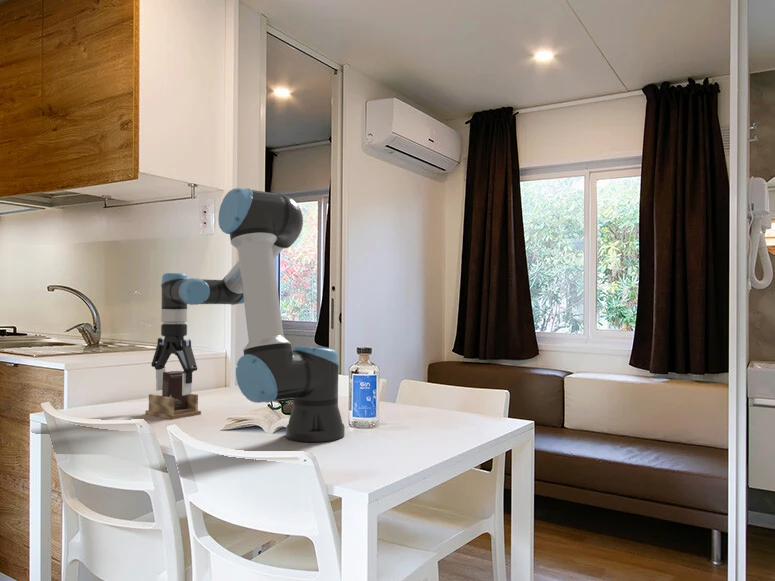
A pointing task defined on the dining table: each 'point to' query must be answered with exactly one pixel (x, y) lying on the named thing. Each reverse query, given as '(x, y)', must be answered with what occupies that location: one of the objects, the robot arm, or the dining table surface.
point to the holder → (172, 407)
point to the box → (174, 388)
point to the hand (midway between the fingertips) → (173, 392)
